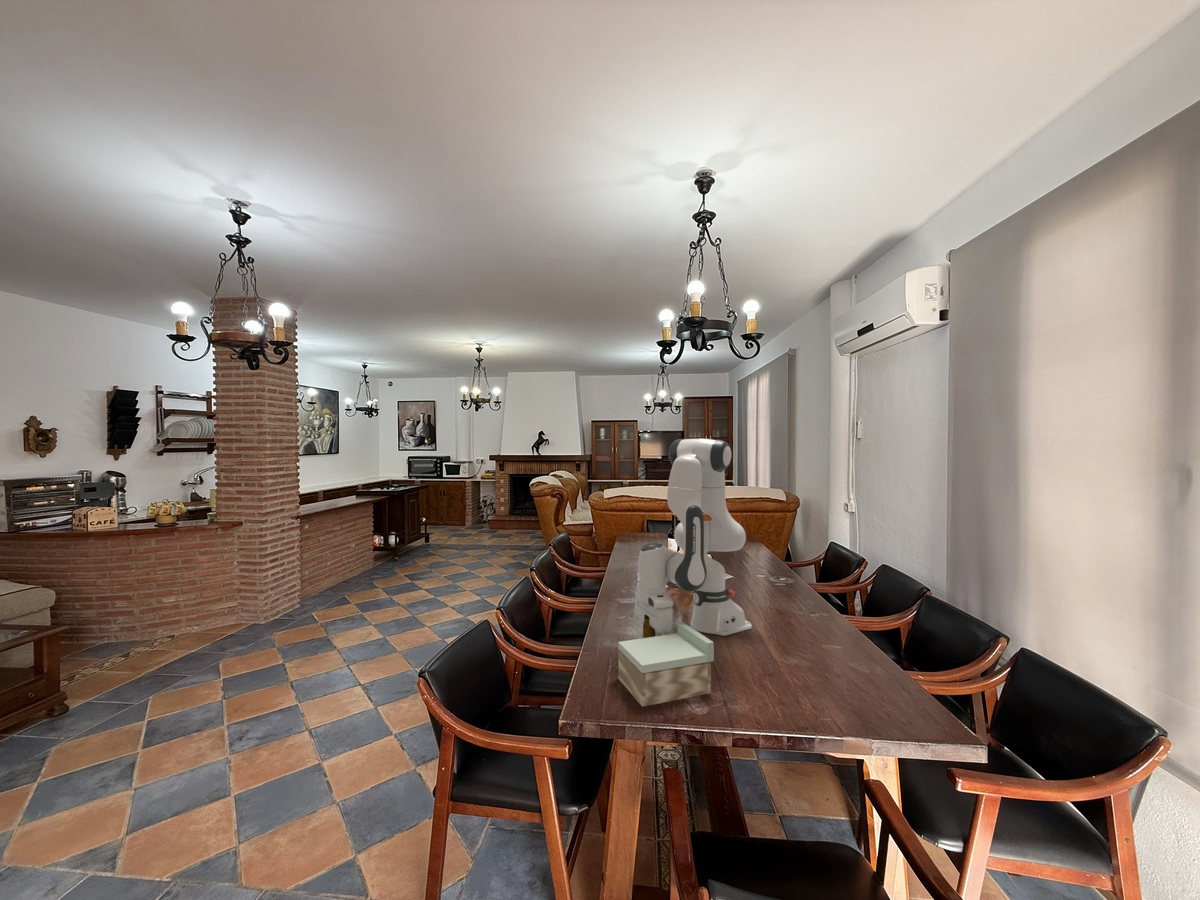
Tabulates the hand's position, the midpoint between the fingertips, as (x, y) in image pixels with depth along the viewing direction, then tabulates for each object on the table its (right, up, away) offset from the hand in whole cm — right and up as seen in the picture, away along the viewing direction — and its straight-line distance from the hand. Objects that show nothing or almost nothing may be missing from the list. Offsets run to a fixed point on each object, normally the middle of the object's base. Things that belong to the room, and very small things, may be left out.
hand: (652, 638), depth 150 cm
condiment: (0, -5, -1) cm, 5 cm away
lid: (+1, +4, -22) cm, 22 cm away
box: (+1, -4, -22) cm, 22 cm away
